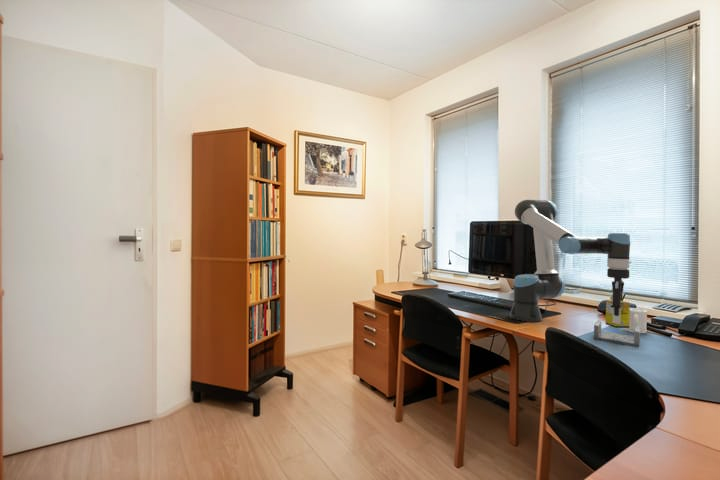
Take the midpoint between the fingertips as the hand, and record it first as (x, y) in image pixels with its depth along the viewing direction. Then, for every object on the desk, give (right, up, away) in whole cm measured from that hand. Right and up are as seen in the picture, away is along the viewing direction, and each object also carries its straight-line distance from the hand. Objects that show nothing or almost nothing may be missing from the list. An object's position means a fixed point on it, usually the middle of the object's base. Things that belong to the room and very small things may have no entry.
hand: (617, 321), depth 143 cm
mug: (+17, -8, +11) cm, 21 cm away
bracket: (0, -8, 0) cm, 8 cm away
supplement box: (0, -2, 0) cm, 2 cm away
